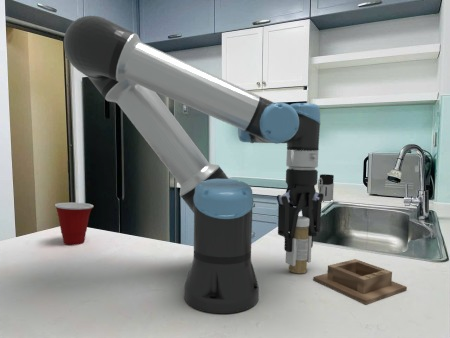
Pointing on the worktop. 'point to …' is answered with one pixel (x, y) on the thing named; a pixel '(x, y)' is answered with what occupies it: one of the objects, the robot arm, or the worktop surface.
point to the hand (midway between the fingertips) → (298, 262)
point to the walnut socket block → (360, 281)
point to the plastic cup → (73, 221)
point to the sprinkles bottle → (301, 245)
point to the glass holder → (326, 186)
